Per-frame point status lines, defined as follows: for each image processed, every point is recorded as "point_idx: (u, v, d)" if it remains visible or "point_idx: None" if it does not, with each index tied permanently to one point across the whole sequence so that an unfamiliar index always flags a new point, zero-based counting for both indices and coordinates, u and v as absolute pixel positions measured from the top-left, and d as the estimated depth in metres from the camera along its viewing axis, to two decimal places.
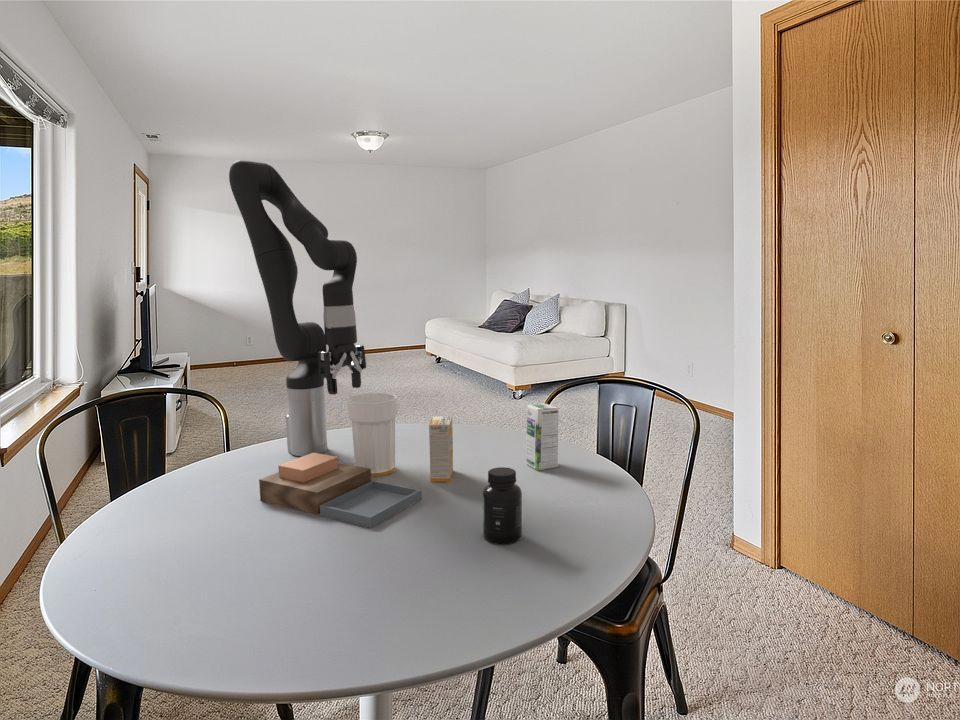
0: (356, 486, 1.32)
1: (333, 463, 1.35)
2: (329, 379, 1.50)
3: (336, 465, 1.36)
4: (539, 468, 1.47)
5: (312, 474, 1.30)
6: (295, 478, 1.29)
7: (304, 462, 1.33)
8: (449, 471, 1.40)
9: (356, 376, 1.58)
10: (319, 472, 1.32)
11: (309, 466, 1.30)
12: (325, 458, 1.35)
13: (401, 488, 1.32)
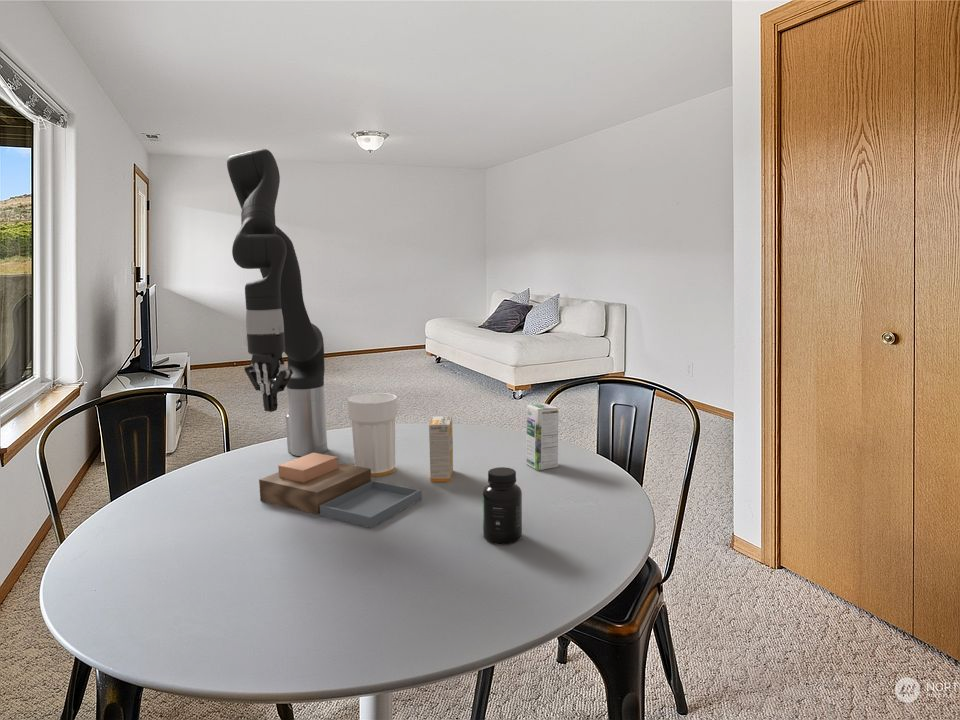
0: (356, 486, 1.32)
1: (333, 463, 1.35)
2: (275, 394, 1.36)
3: (336, 465, 1.36)
4: (539, 468, 1.47)
5: (312, 474, 1.30)
6: (295, 478, 1.29)
7: (304, 462, 1.33)
8: (449, 471, 1.40)
9: None
10: (319, 472, 1.32)
11: (309, 466, 1.30)
12: (325, 458, 1.35)
13: (401, 488, 1.32)
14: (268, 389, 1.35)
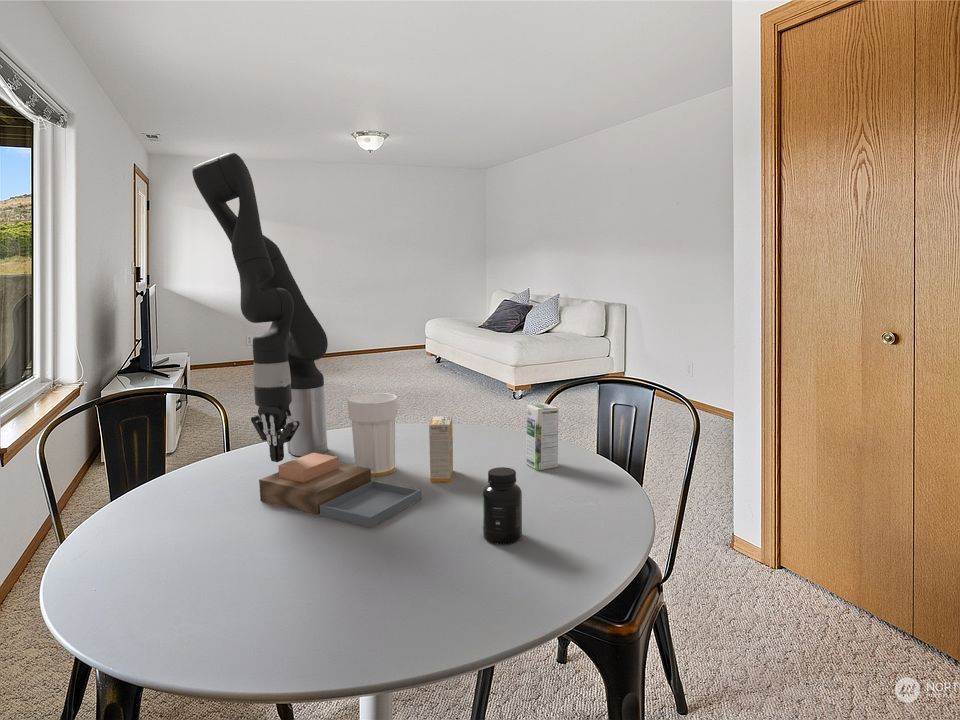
0: (356, 486, 1.32)
1: (333, 463, 1.35)
2: (282, 444, 1.37)
3: (336, 465, 1.36)
4: (539, 468, 1.47)
5: (312, 474, 1.30)
6: (295, 478, 1.29)
7: (304, 462, 1.33)
8: (449, 471, 1.40)
9: None
10: (319, 472, 1.32)
11: (309, 466, 1.30)
12: (325, 458, 1.35)
13: (401, 488, 1.32)
14: (275, 440, 1.36)
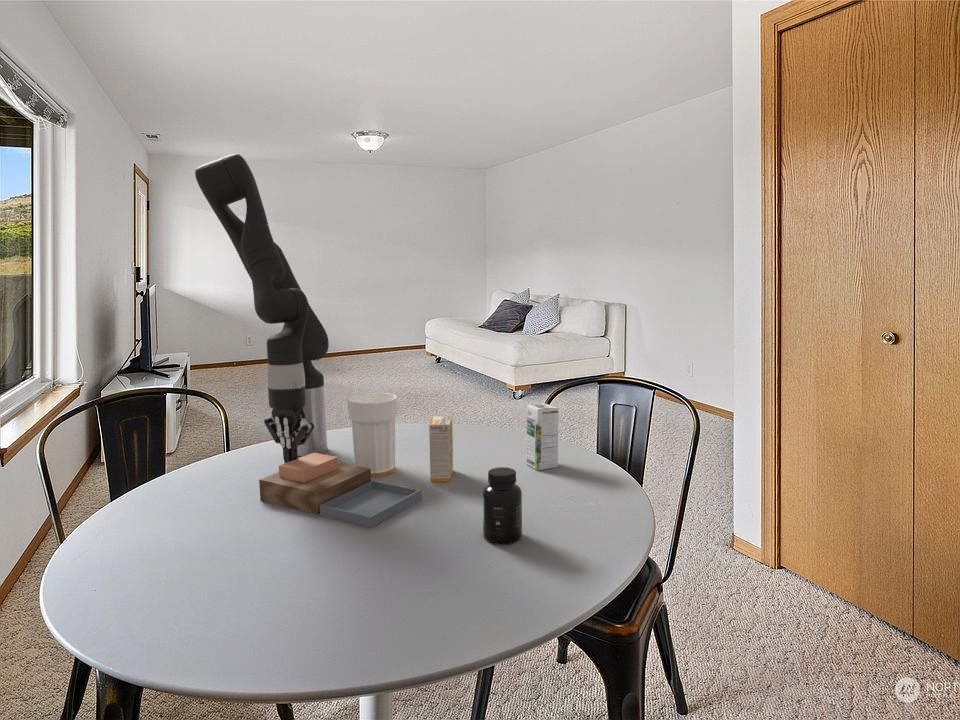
0: (356, 486, 1.32)
1: (333, 463, 1.35)
2: (296, 447, 1.35)
3: (336, 465, 1.36)
4: (539, 468, 1.47)
5: (313, 475, 1.30)
6: (295, 478, 1.29)
7: (304, 462, 1.33)
8: (449, 471, 1.40)
9: None
10: (320, 472, 1.32)
11: (309, 467, 1.30)
12: (325, 458, 1.35)
13: (401, 488, 1.32)
14: (289, 443, 1.34)
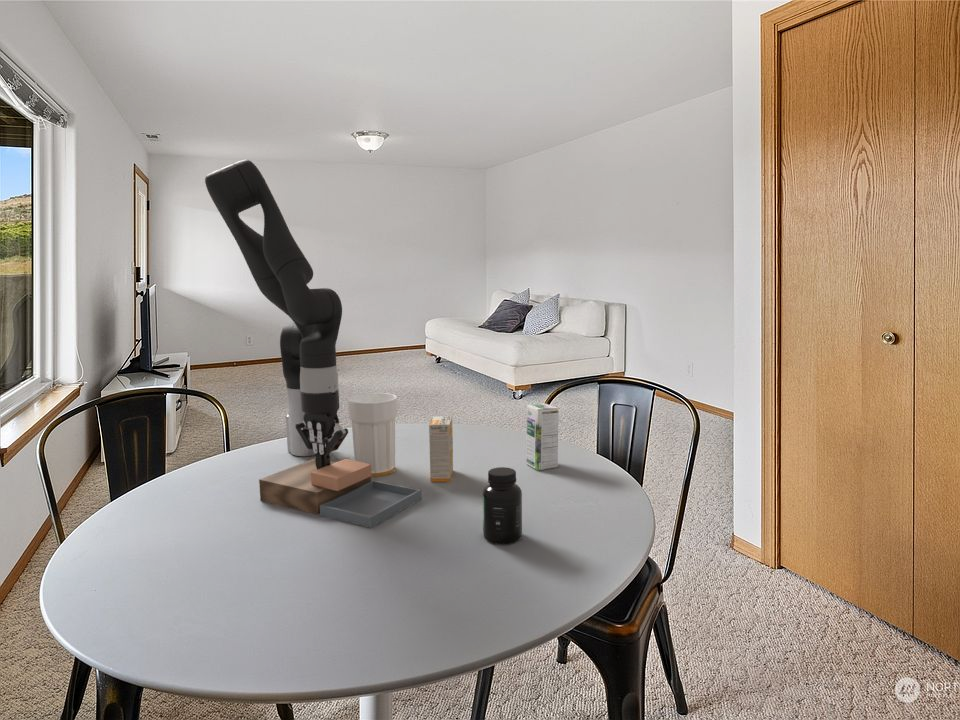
0: (356, 486, 1.32)
1: (367, 471, 1.30)
2: (328, 453, 1.30)
3: (370, 473, 1.31)
4: (539, 468, 1.47)
5: (346, 483, 1.25)
6: (328, 486, 1.24)
7: (337, 469, 1.28)
8: (449, 471, 1.40)
9: None
10: (353, 480, 1.27)
11: (343, 474, 1.25)
12: (359, 465, 1.30)
13: (401, 488, 1.32)
14: (322, 449, 1.29)
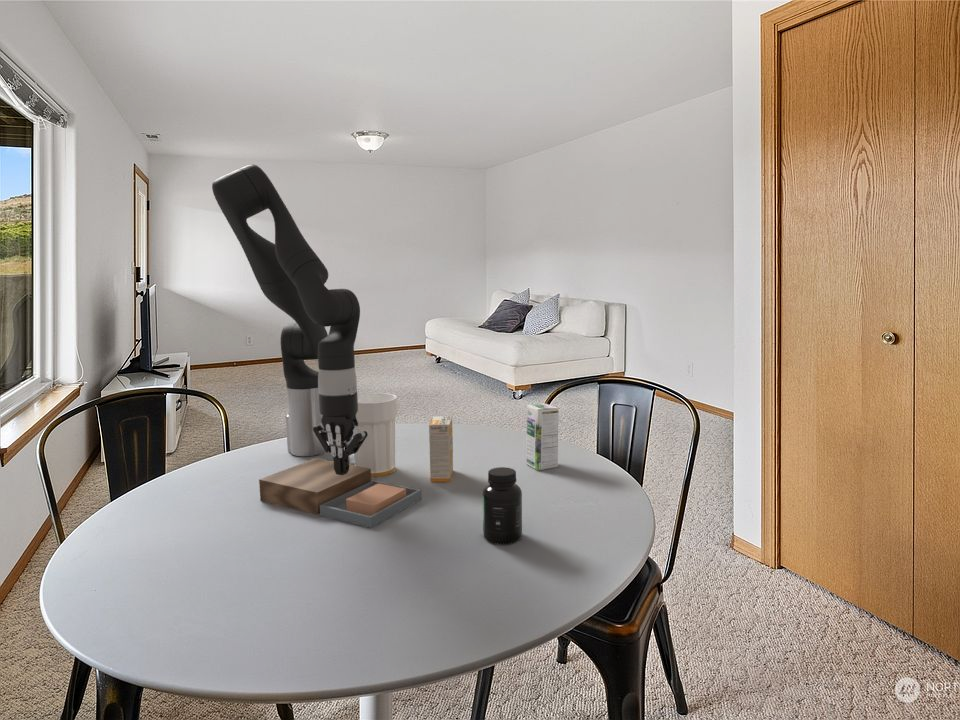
0: (356, 486, 1.32)
1: None
2: (347, 456, 1.28)
3: None
4: (539, 468, 1.47)
5: None
6: (355, 503, 1.22)
7: None
8: (449, 471, 1.40)
9: None
10: None
11: None
12: None
13: None
14: (341, 452, 1.27)
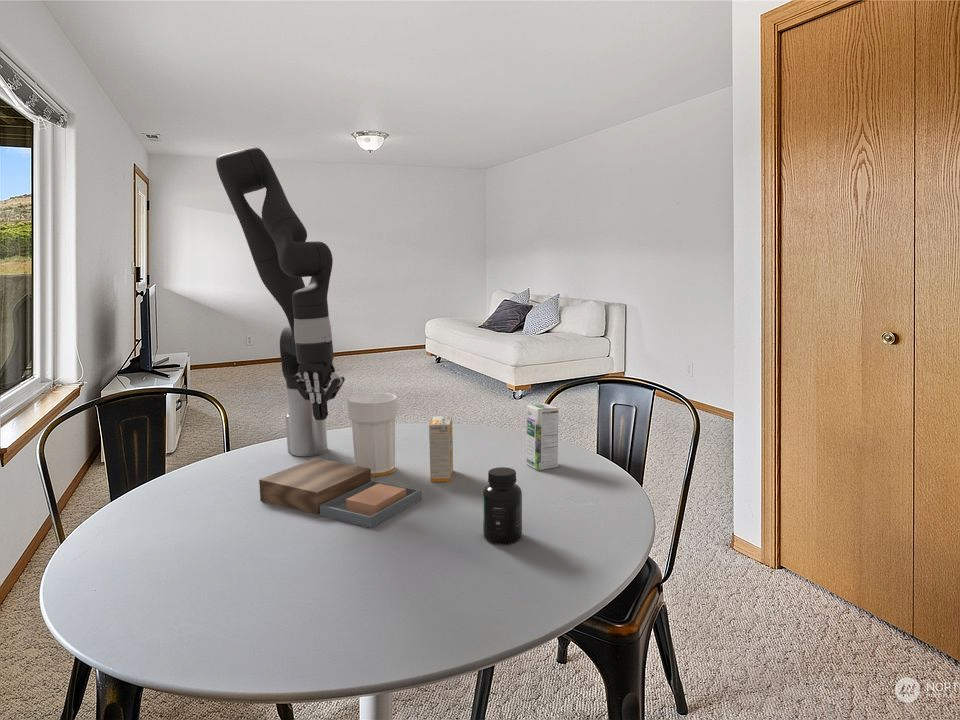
0: (356, 486, 1.32)
1: None
2: (326, 402, 1.35)
3: None
4: (539, 468, 1.47)
5: None
6: (355, 503, 1.22)
7: None
8: (449, 471, 1.40)
9: None
10: None
11: None
12: None
13: None
14: (319, 398, 1.34)
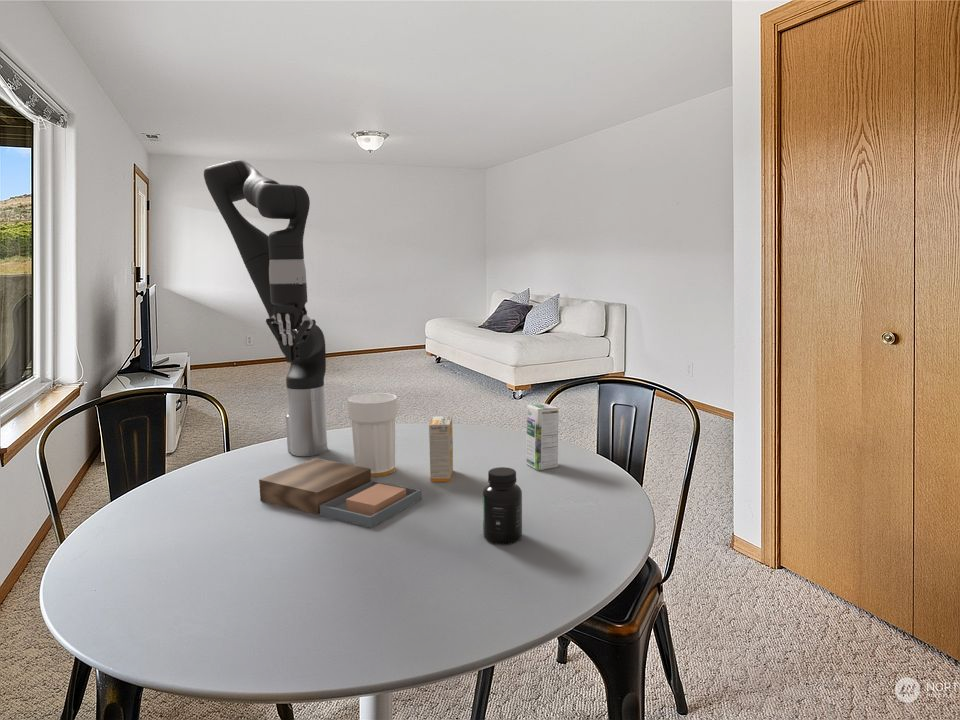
0: (356, 486, 1.32)
1: None
2: (297, 345, 1.37)
3: None
4: (539, 468, 1.47)
5: None
6: (355, 503, 1.22)
7: None
8: (449, 471, 1.40)
9: None
10: None
11: None
12: None
13: None
14: (291, 340, 1.35)
